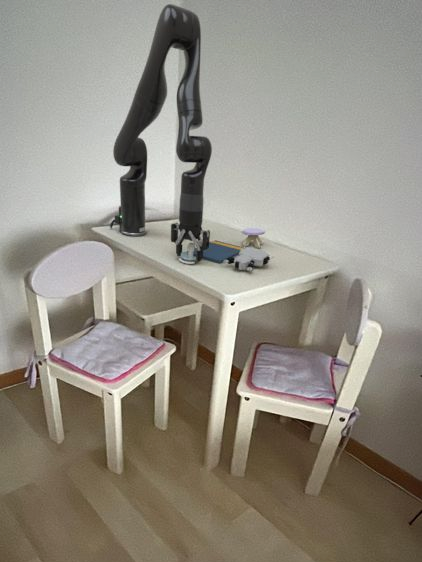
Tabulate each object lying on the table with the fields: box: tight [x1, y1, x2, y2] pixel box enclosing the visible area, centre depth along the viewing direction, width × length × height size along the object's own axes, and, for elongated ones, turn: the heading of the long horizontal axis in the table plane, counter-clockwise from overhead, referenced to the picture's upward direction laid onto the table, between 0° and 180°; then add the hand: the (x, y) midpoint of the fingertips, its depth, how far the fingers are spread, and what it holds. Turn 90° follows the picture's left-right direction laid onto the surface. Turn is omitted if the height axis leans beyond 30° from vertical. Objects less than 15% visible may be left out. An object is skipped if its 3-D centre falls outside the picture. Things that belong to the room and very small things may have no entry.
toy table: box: [241, 227, 266, 249], centre depth 166 cm, size 10×9×6 cm
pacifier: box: [178, 242, 196, 265], centre depth 143 cm, size 7×6×6 cm
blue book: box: [186, 240, 245, 264], centre depth 156 cm, size 14×20×1 cm
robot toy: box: [222, 246, 275, 272], centre depth 144 cm, size 12×4×15 cm
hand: (188, 258), depth 144 cm, fingers closed on pacifier, 7 cm apart
